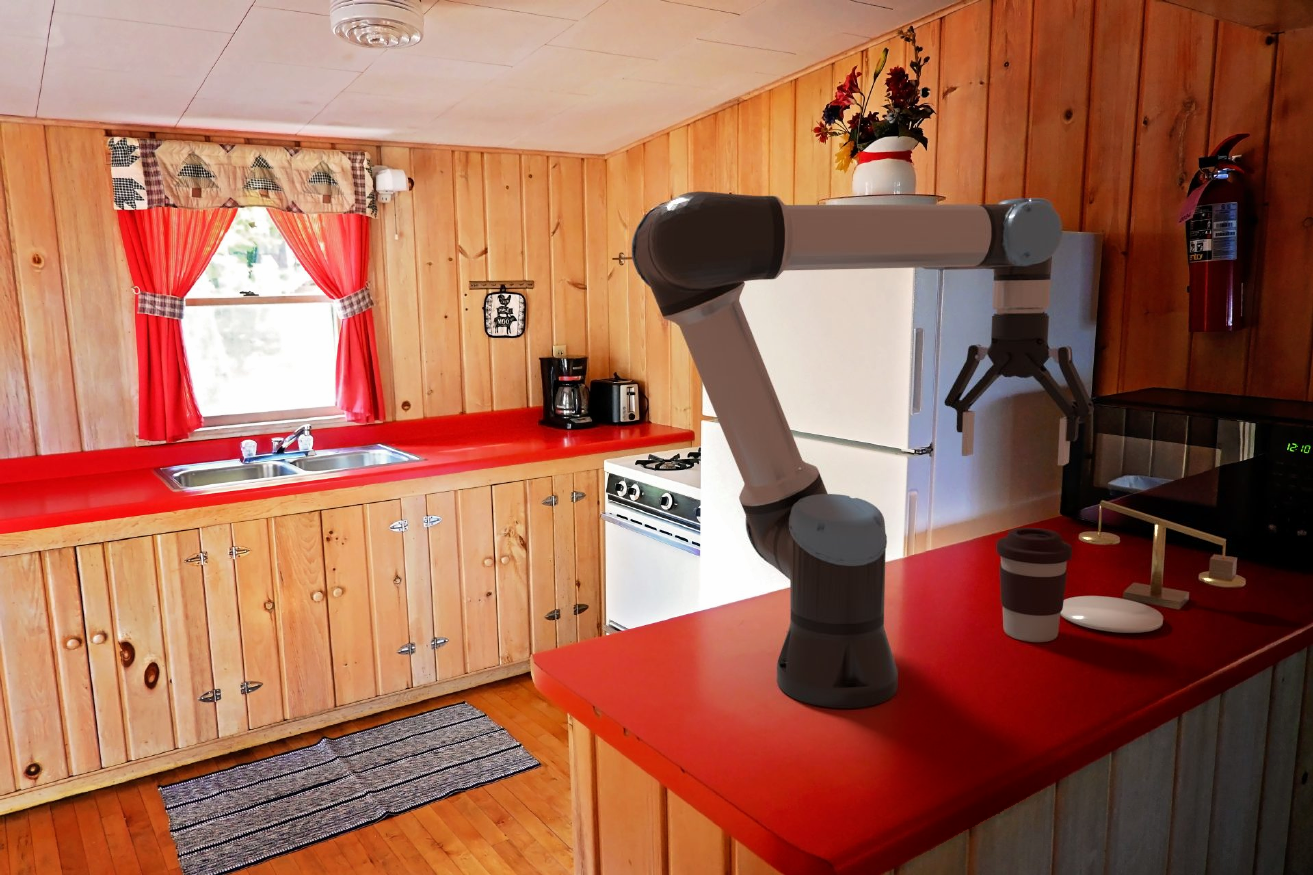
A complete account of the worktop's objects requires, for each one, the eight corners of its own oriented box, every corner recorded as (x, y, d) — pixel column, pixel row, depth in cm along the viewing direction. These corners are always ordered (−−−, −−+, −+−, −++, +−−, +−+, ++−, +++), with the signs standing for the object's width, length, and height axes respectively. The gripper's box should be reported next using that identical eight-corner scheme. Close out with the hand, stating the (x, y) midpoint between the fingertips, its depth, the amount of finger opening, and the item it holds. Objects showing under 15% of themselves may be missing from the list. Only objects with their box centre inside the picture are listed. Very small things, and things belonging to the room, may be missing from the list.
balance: (1238, 620, 134) (1246, 522, 132) (1071, 589, 150) (1075, 501, 148) (1246, 609, 139) (1253, 514, 136) (1083, 580, 154) (1087, 495, 152)
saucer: (1148, 644, 126) (1148, 635, 126) (1044, 622, 135) (1045, 614, 135) (1173, 616, 137) (1173, 608, 136) (1075, 598, 146) (1075, 590, 146)
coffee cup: (994, 643, 128) (998, 539, 126) (992, 619, 137) (996, 522, 135) (1071, 650, 125) (1076, 544, 123) (1064, 625, 134) (1069, 526, 132)
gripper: (1123, 310, 124) (1113, 464, 127) (944, 311, 139) (940, 447, 142) (1109, 311, 118) (1100, 472, 121) (925, 312, 134) (920, 454, 137)
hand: (1013, 459), depth 132 cm, fingers open, 13 cm apart
